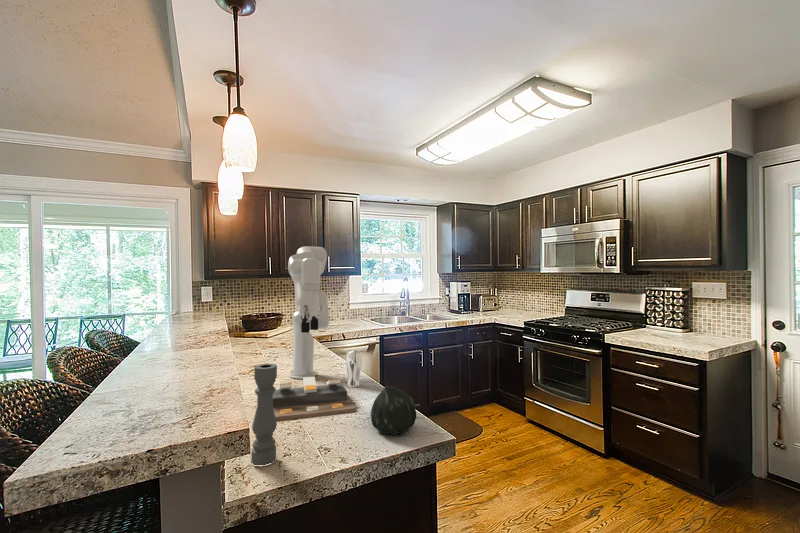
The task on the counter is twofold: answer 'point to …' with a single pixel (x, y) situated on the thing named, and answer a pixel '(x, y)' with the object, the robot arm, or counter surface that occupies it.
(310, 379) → the block
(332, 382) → the block
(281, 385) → the plate
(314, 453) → the counter surface
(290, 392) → the switch unit
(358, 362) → the beige tall curved piece
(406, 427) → the squash
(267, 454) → the candle holder
